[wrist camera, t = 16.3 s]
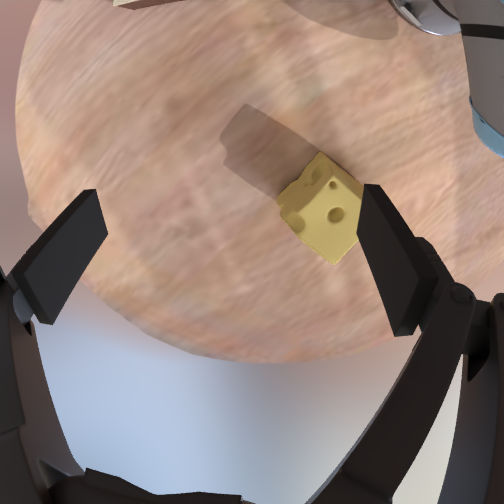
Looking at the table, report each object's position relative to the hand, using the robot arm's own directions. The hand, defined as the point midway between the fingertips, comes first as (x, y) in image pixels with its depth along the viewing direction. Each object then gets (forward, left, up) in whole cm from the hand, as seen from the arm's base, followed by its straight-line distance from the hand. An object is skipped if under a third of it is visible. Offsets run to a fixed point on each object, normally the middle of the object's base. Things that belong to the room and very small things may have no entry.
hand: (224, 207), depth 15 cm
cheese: (-11, +14, -32) cm, 37 cm away
